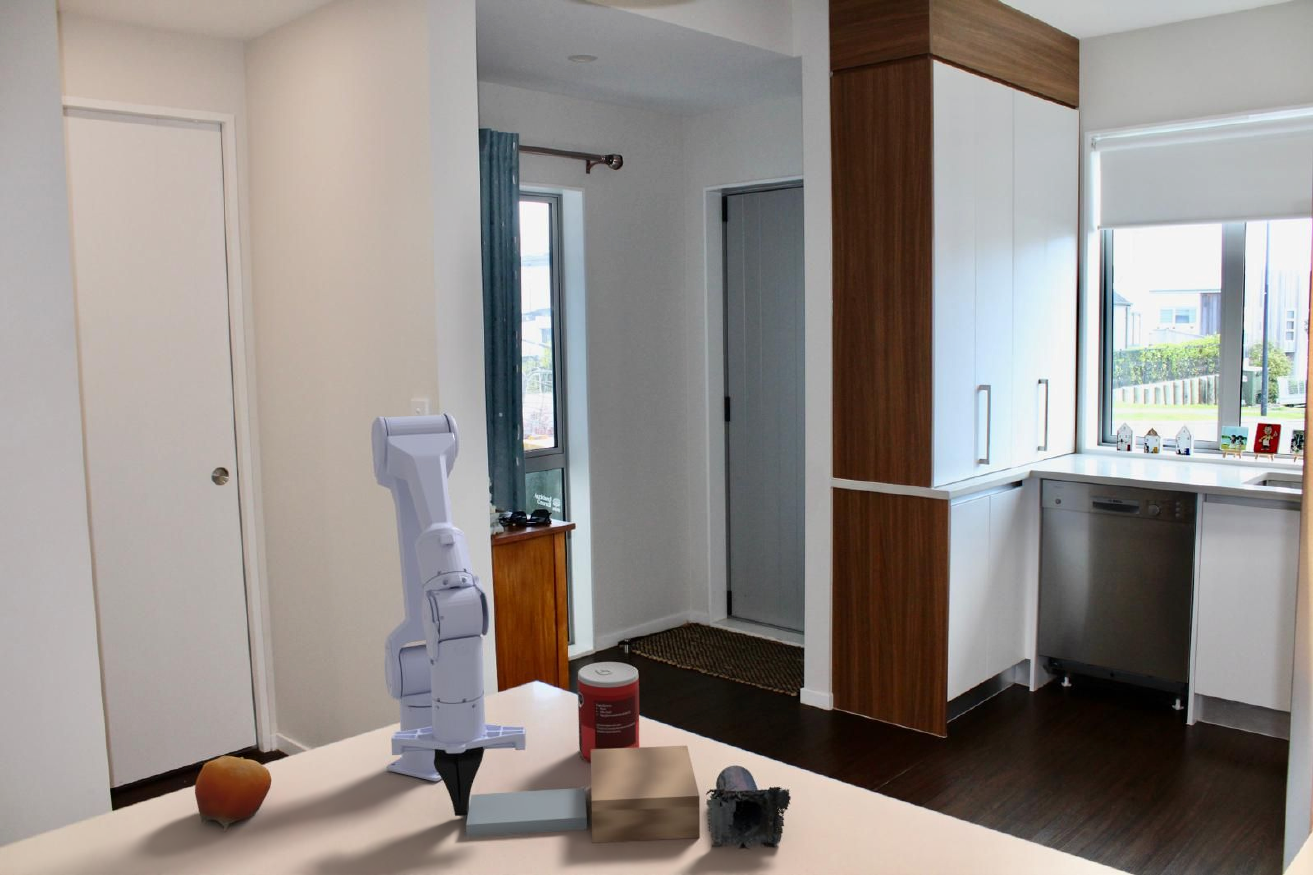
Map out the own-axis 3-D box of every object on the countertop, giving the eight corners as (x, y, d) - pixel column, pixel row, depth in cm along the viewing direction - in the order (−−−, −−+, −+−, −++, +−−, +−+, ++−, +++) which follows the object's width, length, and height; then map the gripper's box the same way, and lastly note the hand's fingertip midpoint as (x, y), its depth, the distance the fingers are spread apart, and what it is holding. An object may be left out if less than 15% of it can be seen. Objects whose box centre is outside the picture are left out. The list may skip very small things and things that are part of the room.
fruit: (164, 821, 110) (190, 746, 113) (213, 828, 117) (236, 757, 120) (223, 833, 107) (247, 756, 110) (270, 839, 114) (291, 766, 117)
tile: (466, 840, 109) (466, 824, 109) (471, 809, 116) (471, 794, 116) (587, 832, 110) (586, 817, 110) (585, 802, 117) (584, 787, 117)
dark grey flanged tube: (780, 861, 106) (759, 812, 118) (793, 790, 106) (770, 748, 118) (696, 850, 105) (683, 802, 117) (709, 779, 105) (694, 738, 117)
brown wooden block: (592, 842, 107) (591, 800, 107) (591, 787, 120) (590, 749, 120) (699, 837, 108) (699, 795, 108) (687, 783, 121) (687, 745, 120)
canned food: (603, 737, 135) (602, 657, 134) (652, 751, 130) (651, 669, 129) (566, 757, 129) (564, 674, 127) (615, 773, 124) (614, 686, 123)
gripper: (383, 710, 107) (389, 832, 108) (521, 705, 108) (525, 826, 109) (396, 686, 114) (401, 801, 115) (525, 682, 115) (528, 796, 116)
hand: (462, 811), depth 113 cm, fingers closed
